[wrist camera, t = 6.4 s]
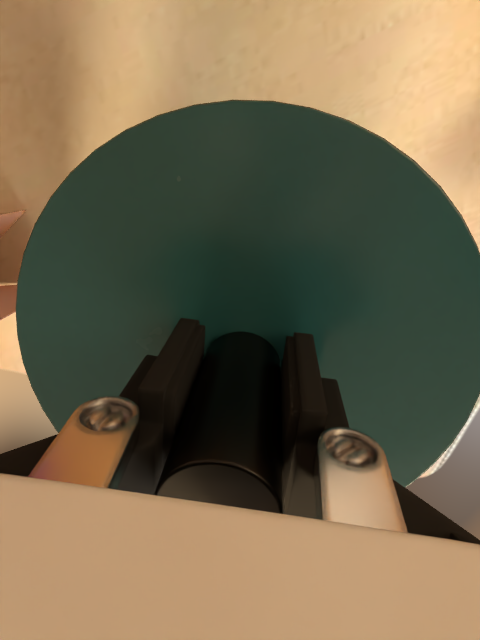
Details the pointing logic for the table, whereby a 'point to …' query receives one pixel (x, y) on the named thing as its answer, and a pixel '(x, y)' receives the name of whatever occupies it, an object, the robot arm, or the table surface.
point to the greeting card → (4, 297)
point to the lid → (256, 287)
